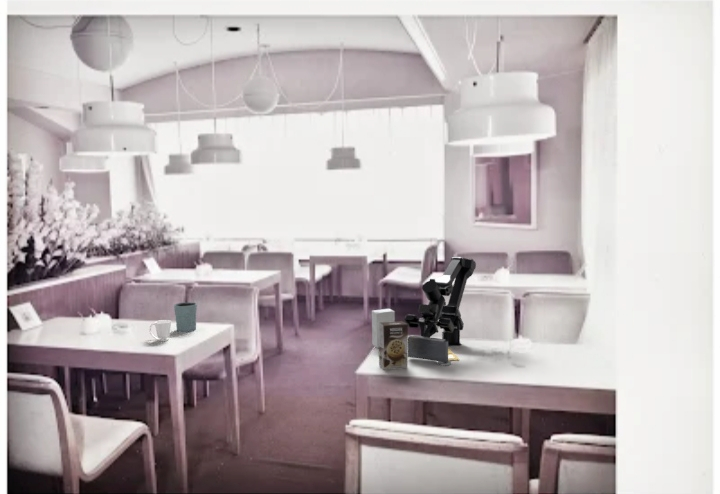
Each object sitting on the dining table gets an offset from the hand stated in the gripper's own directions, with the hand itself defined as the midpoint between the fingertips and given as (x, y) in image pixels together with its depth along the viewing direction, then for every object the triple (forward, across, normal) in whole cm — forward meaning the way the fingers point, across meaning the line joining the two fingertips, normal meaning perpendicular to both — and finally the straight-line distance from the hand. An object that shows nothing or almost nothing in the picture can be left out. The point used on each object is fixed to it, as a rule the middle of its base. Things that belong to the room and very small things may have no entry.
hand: (422, 341), depth 238 cm
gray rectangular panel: (+6, +3, +2) cm, 7 cm away
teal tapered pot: (+11, -116, -1) cm, 117 cm away
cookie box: (+15, -5, -5) cm, 17 cm away
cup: (+25, -111, -15) cm, 115 cm away
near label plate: (-5, +2, +14) cm, 15 cm away
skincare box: (-2, -23, +12) cm, 26 cm away
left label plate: (0, +8, +9) cm, 12 cm away
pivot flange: (+6, +10, +3) cm, 12 cm away
